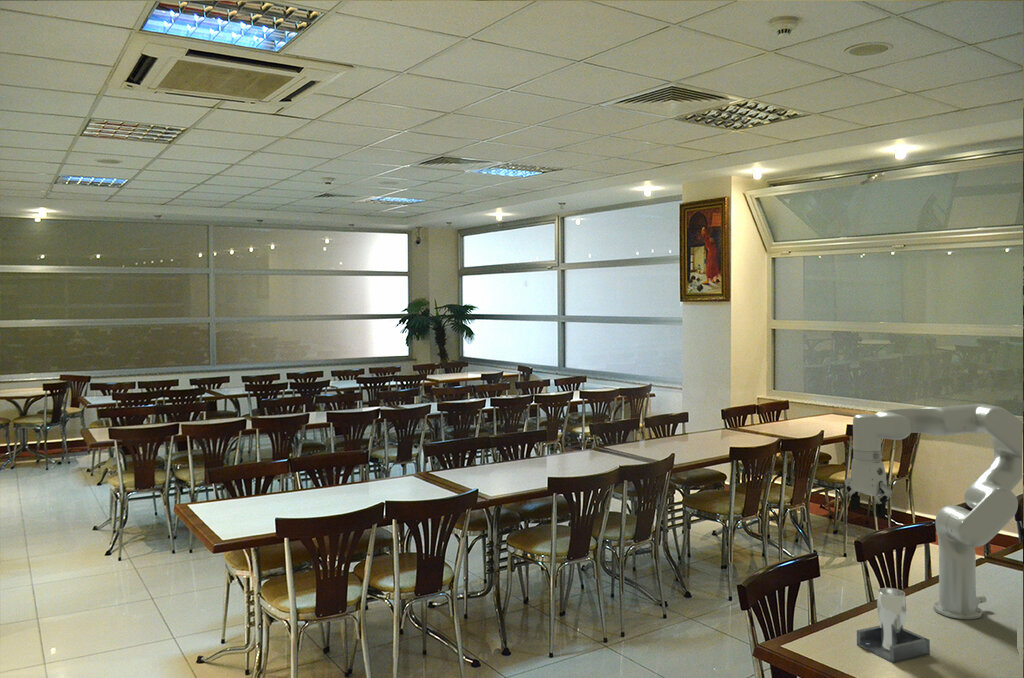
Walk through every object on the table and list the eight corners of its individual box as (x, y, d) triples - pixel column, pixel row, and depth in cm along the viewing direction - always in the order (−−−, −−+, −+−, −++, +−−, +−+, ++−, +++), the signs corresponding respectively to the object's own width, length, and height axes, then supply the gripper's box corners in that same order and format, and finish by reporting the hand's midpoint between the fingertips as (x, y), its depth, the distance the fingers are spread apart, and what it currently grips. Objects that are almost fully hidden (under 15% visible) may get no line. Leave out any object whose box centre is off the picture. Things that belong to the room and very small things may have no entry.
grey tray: (891, 637, 218) (891, 622, 217) (929, 654, 206) (929, 639, 206) (856, 644, 213) (856, 630, 213) (893, 663, 202) (893, 648, 201)
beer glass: (910, 653, 206) (909, 597, 205) (881, 652, 207) (880, 595, 206) (902, 642, 212) (901, 588, 212) (874, 641, 214) (874, 586, 213)
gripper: (900, 459, 227) (901, 518, 227) (854, 450, 243) (855, 505, 244) (880, 461, 224) (881, 521, 225) (835, 452, 240) (836, 507, 241)
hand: (867, 512), depth 234 cm, fingers open, 9 cm apart
